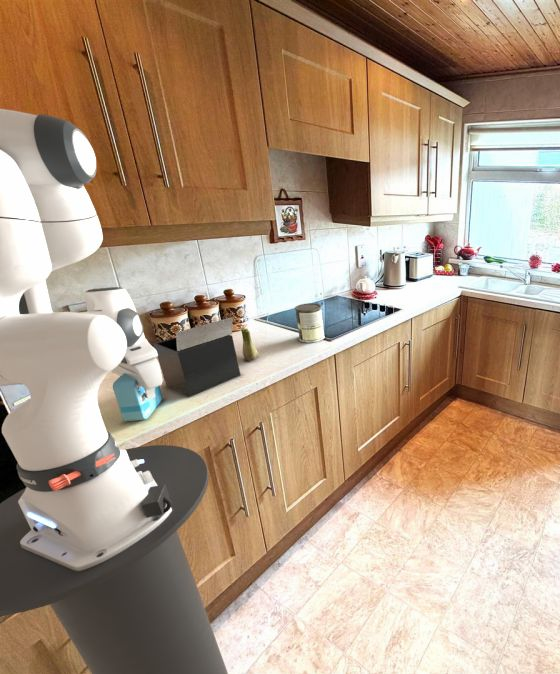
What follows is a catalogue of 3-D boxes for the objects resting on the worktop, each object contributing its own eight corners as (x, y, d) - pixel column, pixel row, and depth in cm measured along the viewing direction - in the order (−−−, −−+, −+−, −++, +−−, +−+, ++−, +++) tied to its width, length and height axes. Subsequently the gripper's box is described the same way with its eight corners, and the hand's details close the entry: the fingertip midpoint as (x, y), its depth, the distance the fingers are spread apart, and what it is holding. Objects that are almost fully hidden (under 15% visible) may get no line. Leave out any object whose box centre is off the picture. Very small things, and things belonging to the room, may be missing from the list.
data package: (145, 421, 94) (132, 382, 90) (124, 424, 93) (110, 384, 88) (163, 398, 105) (153, 362, 100) (145, 400, 103) (134, 363, 99)
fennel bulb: (245, 356, 133) (239, 326, 128) (259, 354, 134) (254, 325, 130) (242, 363, 128) (236, 332, 123) (258, 361, 129) (252, 330, 125)
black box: (240, 375, 119) (232, 335, 114) (190, 396, 106) (177, 353, 101) (217, 366, 125) (208, 328, 119) (166, 385, 111) (153, 343, 106)
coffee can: (293, 339, 149) (289, 307, 144) (312, 332, 158) (308, 301, 153) (311, 344, 145) (307, 311, 140) (330, 336, 154) (326, 305, 148)
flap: (231, 333, 114) (232, 334, 114) (176, 350, 100) (177, 351, 100) (231, 317, 111) (232, 317, 110) (175, 332, 97) (176, 333, 97)
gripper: (90, 342, 93) (108, 387, 99) (131, 361, 85) (147, 409, 91) (119, 335, 99) (135, 378, 104) (160, 351, 90) (174, 397, 96)
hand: (141, 392), depth 97 cm, fingers open, 8 cm apart
